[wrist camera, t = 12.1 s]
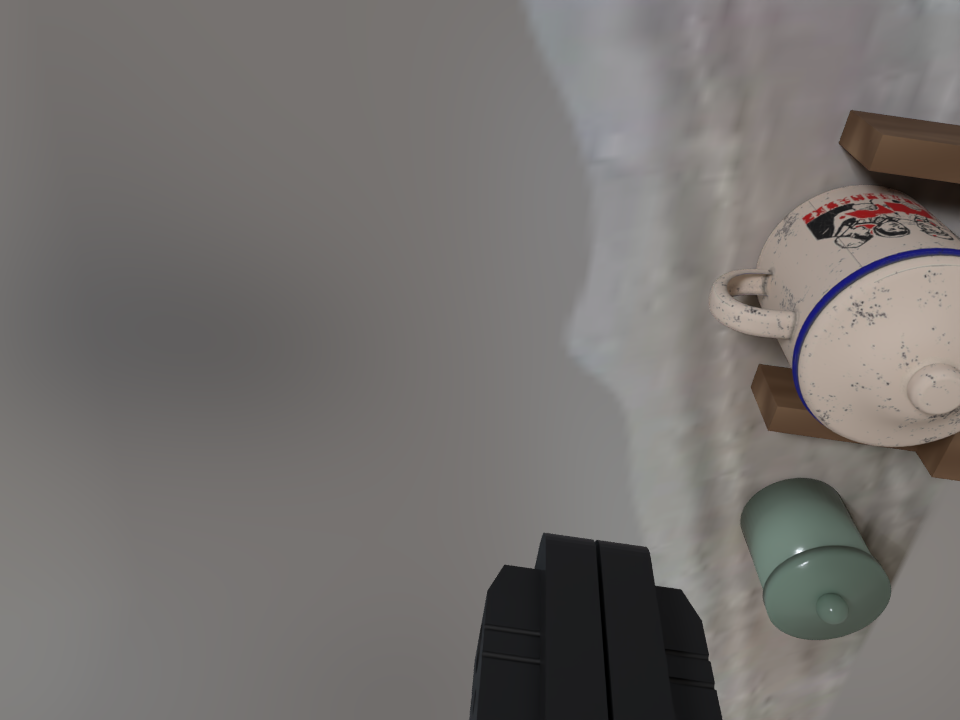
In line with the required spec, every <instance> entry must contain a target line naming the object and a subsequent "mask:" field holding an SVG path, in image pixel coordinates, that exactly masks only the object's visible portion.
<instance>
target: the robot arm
mask: <svg viewBox="0 0 960 720" xmlns="http://www.w3.org/2000/svg"><path fill="white" fill-rule="evenodd" d="M708 656H709V653H708V648H707V643H706V638H705V634H704V629H703V624H702V620H701V619H700V617H699V616H698V614H697V613H696V611H695V610H694V608H693V607H692V605H691V604H690V602H689V601H688V599H687V598H686V596H685V595H684V593H683V591H682V590H681V589H674V588H667V587H660V586H655V582H654V576H653V569H652V563H651V557H650V552H649V550H648V548H647V547H643V546H635V545H629V544H621V543H615V542H607V541H600V540H596V541H595V542H594V540H591V539H585V538H578V537H570V536H563V535H556V534H549V533H543V535H542V538H541V542H540V546H539V551H538V556H537V560H536V565H535V569H531V568H524V567H517V566H509V565H504V566H503V568H502V569H501V571H500V572H499V574H498V575H497V577H496V578H495V580H494V582H493V583H492V585H491V586H490V588H489V589H488V591H487V596H486V602H485V607H484V613H483V618H482V624H481V629H480V635H479V640H478V646H477V651H476V657H475V664H474V675H473V686H472V699H471V707H470V719H469V720H722V715H721V710H720V706H719V701H718V696H717V691H716V690H714V684H715V682H714V677H713V672H712V667H711V662H710V661H708Z"/></svg>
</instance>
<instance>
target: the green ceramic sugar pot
mask: <svg viewBox="0 0 960 720" xmlns="http://www.w3.org/2000/svg"><path fill="white" fill-rule="evenodd" d="M740 524H741V529H742V532H743V535H744V538H745V540H746V543H747V546H748V549H749V552H750V554H751V557H752V560H753V563H754V566H755V568H756V571H757V574H758V577H759V580H760V582H761V585H762V588H763V602H764V605H765V607H766V610H767V613H768V616H769V618H770V620H771V622H772V623H773V624H774V625H775V626H776V627H777V628H778V629H779V630H781V631H782V632H784V633H786V634H788V635H791V636H794V637H797V638H801V639H808V640H826V639H833V638H838V637H842V636H845V635H848V634H851V633H854V632H856V631H858V630H860V629H862V628H864V627H866V626H867V625H869V624H870V623H872V622H873V621H874V620H875V619H876V618H877V617H878V616H879V615H880V614H881V613H882V612H883V611H884V609H885V608H886V606H887V604H888V602H889V599H890V596H891V585H890V581H889V579H888V577H887V575H886V573H885V571H884V570H883V568H882V566H881V564H880V563H879V562H878V560H876V559H875V558H874V557H873V556H872V555H871V554H870V552H869V550H868V548H867V546H866V544H865V542H864V541H863V539H862V537H861V535H860V533H859V531H858V529H857V527H856V526H855V524H854V522H853V520H852V518H851V516H850V514H849V512H848V511H847V509H846V507H845V505H844V503H843V501H842V499H841V497H840V496H839V494H838V493H837V492H836V491H835V490H834V489H833V488H832V487H831V486H829V485H828V484H826V483H824V482H821V481H818V480H814V479H808V478H794V479H787V480H783V481H779V482H776V483H774V484H771V485H769V486H767V487H765V488H763V489H762V490H760V491H759V492H758V493H756V494H755V495H754V496H753V497H752V498H751V499H750V500H749V501H748V503H747V504H746V505H745V507H744V509H743V512H742V514H741V520H740Z"/></svg>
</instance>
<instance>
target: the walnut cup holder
mask: <svg viewBox="0 0 960 720" xmlns="http://www.w3.org/2000/svg"><path fill="white" fill-rule="evenodd" d="M839 144H840V145H841V146H842V147H844V148H845V149H846V150H847V151H848V152H849V153H850V154H851V155H852V156H853V157H855V158H856V159H857V160H858V161H859V162H860V163H861V164H862V165H863V166H864V167H866V168H867V169H868V170H869V171H875V172H882V173H889V174H896V175H903V176H910V177H917V178H924V179H931V180H938V181H945V182H952V183H959V184H960V126H959V125H952V124H945V123H938V122H931V121H924V120H917V119H910V118H903V117H896V116H889V115H882V114H875V113H868V112H861V111H854V110H851V111H850V114H849V116H848V119H847V122H846V125H845V127H844V130H843V133H842V136H841V138H840V141H839ZM751 389H752V392H753V394H754V397H755V399H756V402H757V404H758V407H759V409H760V412H761V414H762V417H763V419H764V422H765V424H766V427H767V429H768V431H775V432H782V433H789V434H796V435H803V436H810V437H817V438H824V439H831V440H838V441H845V442H852V443H859V442H856V441H853V440H850V439H847V438H845V437H842V436H840V435H838V434H837V433H835V432H833V431H832V430H830V429H828V428H827V427H825V426H824V425H823V424H821V423H820V422H819V421H818V420H816V419H815V418H814V417H813V416H812V415H811V414H810V413H809V412H808V410H807V409H806V407H805V406H804V405H803V403H802V401H801V400H800V398H799V396H798V393H797V391H796V388H795V384H794V380H793V373H792V369H791V368H784V367H777V366H769V365H762V364H759V366H758V368H757V371H756V374H755V377H754V380H753V382H752V385H751ZM859 444H863V443H859ZM866 445H868V444H866ZM873 446H874V445H873ZM880 447H881V446H880ZM887 448H894V449H901V450H908V451H916V453H917V454H918V456H919V458H920V459H921V461H922V462H923V464H924V465H925V467H926V468H927V470H928V472H929V473H930V475H931V476H932V477H935V478H942V479H949V480H956V481H960V431H959V432H957V433H955V434H953V435H950V436H948V437H945V438H942V439H939V440H936V441H933V442H929V443H924V444H919V445H913V446H904V447H887Z"/></svg>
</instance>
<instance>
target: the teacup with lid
mask: <svg viewBox="0 0 960 720" xmlns="http://www.w3.org/2000/svg"><path fill="white" fill-rule="evenodd" d="M739 295H757V296H758V300H759V303H760V305H761V308H757V307H753V306H750V305H747V304H744V303H742V302H739V301H737V300H736V299H734V298H733V297H734V296H739ZM709 308H710V311H711V313H712V314H713V316H714V317H715V318H716V319H717V320H718V321H719V322H720V323H722V324H723V325H725V326H727V327H729V328H731V329H733V330H736V331H738V332H741V333H745V334H748V335H753V336H759V337H768V338H777V340H778V342H779V344H780V346H781V348H782V350H783V352H784V354H785V356H786V358H787V360H788V362H789V364H790V366H791V368H792V373H793V380H794V384H795V388H796V391H797V393H798V396H799V398H800V400H801V401H802V403H803V405H804V406H805V407H806V409H807V410H808V412H809V413H810V414H811V415H812V416H813V417H814V418H815V419H816V420H818V421H819V422H820V423H821V424H823V425H824V426H825V427H827V428H828V429H830V430H832V431H833V432H835V433H837V434H838V435H840V436H842V437H845V438H847V439H850V440H853V441H856V442H859V443H863V444H868V445H874V446H881V447H904V446H913V445H919V444H924V443H929V442H933V441H936V440H939V439H942V438H945V437H948V436H950V435H953V434H955V433H957V432H959V431H960V238H959V237H957V236H956V235H955V234H954V233H953V232H952V231H951V230H949V229H948V228H947V227H946V226H945V225H944V224H943V223H941V222H940V221H939V220H938V219H937V218H936V217H935V216H933V215H932V214H931V213H930V212H929V211H928V210H927V209H925V208H924V207H923V206H922V205H921V204H920V203H918V202H917V201H916V200H915V199H913V198H911V197H910V196H908V195H906V194H904V193H902V192H900V191H897V190H894V189H892V188H888V187H883V186H876V185H853V186H847V187H842V188H837V189H834V190H830V191H827V192H825V193H822V194H820V195H817V196H815V197H813V198H812V199H810V200H808V201H806V202H805V203H803V204H801V205H800V206H798V207H797V208H796V209H794V210H793V211H792V212H791V213H789V214H788V215H787V216H786V217H785V218H784V219H783V220H782V221H781V222H780V223H779V224H778V226H777V227H776V228H775V229H774V230H773V232H772V233H771V235H770V236H769V238H768V240H767V241H766V243H765V245H764V247H763V249H762V252H761V254H760V257H759V260H758V264H757V269H743V270H735V271H731V272H728V273H726V274H724V275H722V276H720V277H719V278H718V279H717V280H716V281H715V282H714V284H713V286H712V289H711V292H710V296H709Z"/></svg>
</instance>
